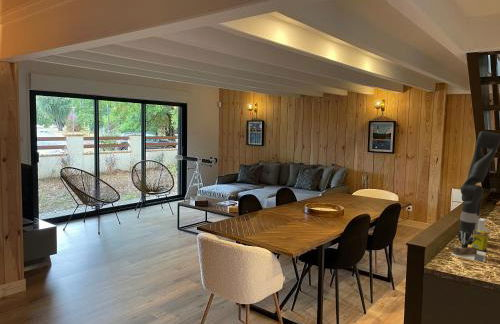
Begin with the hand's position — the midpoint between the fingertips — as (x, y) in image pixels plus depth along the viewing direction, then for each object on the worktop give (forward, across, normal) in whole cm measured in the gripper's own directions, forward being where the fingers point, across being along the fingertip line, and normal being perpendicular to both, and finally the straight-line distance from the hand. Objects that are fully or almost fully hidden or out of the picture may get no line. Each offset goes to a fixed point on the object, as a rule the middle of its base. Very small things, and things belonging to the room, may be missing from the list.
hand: (464, 250), depth 206 cm
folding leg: (0, -4, +2) cm, 5 cm away
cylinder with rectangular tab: (+4, +37, -39) cm, 53 cm away
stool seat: (+2, -4, 0) cm, 4 cm away
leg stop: (0, -14, +2) cm, 14 cm away
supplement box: (+3, +10, -17) cm, 19 cm away
